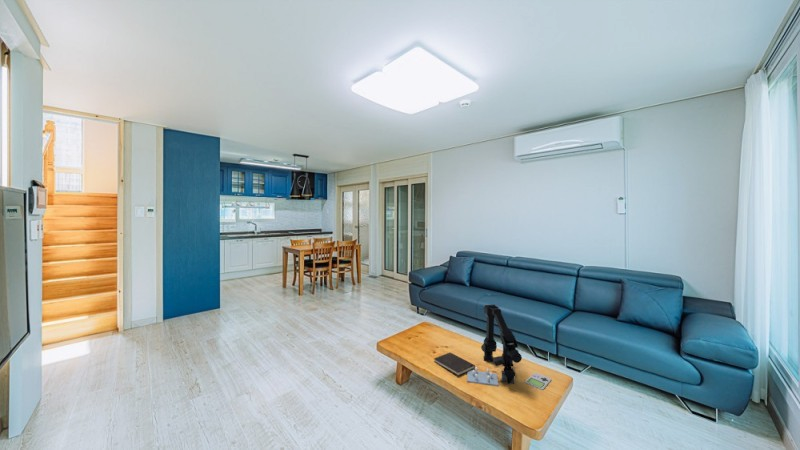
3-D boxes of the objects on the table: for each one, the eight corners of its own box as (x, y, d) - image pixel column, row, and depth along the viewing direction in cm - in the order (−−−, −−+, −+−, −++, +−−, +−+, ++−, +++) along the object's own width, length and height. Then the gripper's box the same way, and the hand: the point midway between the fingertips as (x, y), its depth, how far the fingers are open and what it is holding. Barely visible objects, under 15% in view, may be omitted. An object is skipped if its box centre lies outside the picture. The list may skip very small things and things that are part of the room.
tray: (467, 371, 180) (467, 364, 180) (496, 375, 176) (496, 368, 176) (467, 381, 169) (467, 374, 169) (498, 386, 164) (498, 379, 164)
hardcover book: (457, 376, 173) (457, 372, 173) (433, 361, 193) (433, 358, 193) (475, 368, 182) (475, 364, 182) (450, 355, 201) (450, 352, 201)
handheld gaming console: (551, 378, 170) (542, 388, 160) (551, 380, 170) (542, 391, 160) (534, 371, 177) (524, 381, 167) (534, 373, 177) (524, 383, 167)
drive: (501, 378, 172) (501, 370, 172) (513, 379, 171) (513, 371, 171) (502, 382, 168) (502, 374, 168) (514, 384, 166) (514, 375, 166)
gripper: (492, 345, 180) (492, 369, 180) (495, 360, 162) (495, 386, 162) (511, 347, 177) (511, 371, 178) (515, 362, 159) (515, 389, 160)
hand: (507, 379), depth 169 cm, fingers open, 9 cm apart
